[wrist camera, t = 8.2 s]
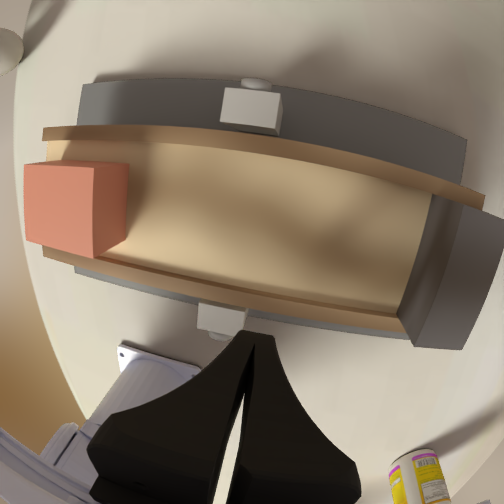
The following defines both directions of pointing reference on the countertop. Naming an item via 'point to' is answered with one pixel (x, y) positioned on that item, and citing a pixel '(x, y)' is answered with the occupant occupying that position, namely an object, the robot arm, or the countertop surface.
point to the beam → (293, 229)
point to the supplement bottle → (418, 479)
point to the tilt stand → (273, 125)
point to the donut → (9, 50)
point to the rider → (76, 205)
